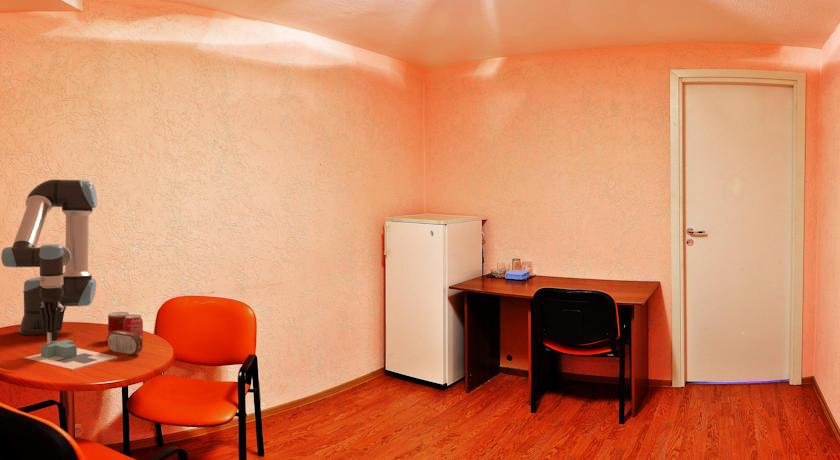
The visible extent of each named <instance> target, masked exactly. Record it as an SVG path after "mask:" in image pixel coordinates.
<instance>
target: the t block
mask: <svg viewBox="0 0 840 460" xmlns="http://www.w3.org/2000/svg"><path fill="white" fill-rule="evenodd" d="M74 343H75V341H74V340H69V339H63V340H59V341H57V342H55V343H50V344H47V343H46V344H42V345H40V354H41V356H42V357H46V358H50V357H54V356H58V357H62V358H66V359H67V358H71V357H75V356H77V348H78V347H77V345H76V344H74Z"/></svg>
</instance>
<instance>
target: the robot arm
mask: <svg viewBox="0 0 840 460" xmlns="http://www.w3.org/2000/svg"><path fill="white" fill-rule="evenodd" d="M25 206H26V208H25V211H24V213H23V216H22V219H21V222H20V225H19V228H18V230H17V232H16V235H15V238H14V240H13V243H12V246H9V247H8V246H7V247H4V248H3V249H2V252H1V256H0V257H1V258H0V259H1V263H2V265H3V266H4V267H6V268H39V276H36V277H32V278H28V279H26V280H25V281H24V283H23V290H22V292H23V317H22V319H21V322H20V325H19V328H18V330H19V331H18V332H19V334H20V335H24V336H42V335H46V342H47V343H46V344H50V343H55V342H58V332H60V331H62V328H63V323H64V317H65V311H66V309H67V307H78V308H79V307H85V306H86V307H87V306H90V305H91V304H92V303H93V301H94V298H95V295H96V289H97V280H96V278H93V274H92V273H91V272H90V271H89V216H90V215H91V214H92V213H93V211H94V210H93V209H95V208H97V206H98V196H97V190H96V187H95V185H94V183H93V182H92V181H90V180H84V179H83V180H82V179H48V180H45V181H44V182H41V183H40V184H38V185H36V186H35V187H34V188H33V189H32V190H31V191H30V192H29V194H28V195H27V197H26V200H25ZM53 208H61V212H62V213H63V214H64V215H65V246H63V245H61V244H54V243H53V244H42V245H40V246H38V247H37V245H38V241H39V239H40V236H41V232H42V230H43V227H44V223H45V220H46V218H47V215H48V213H49V212H51V210H52V209H53Z"/></svg>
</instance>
